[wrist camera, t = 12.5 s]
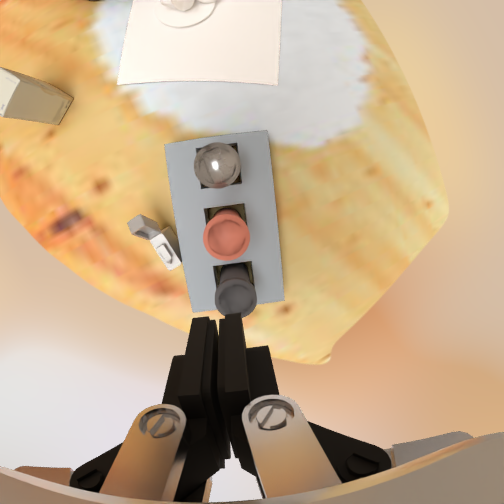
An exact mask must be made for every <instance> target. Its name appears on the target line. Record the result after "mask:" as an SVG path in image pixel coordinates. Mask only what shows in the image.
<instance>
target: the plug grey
mask: <svg viewBox="0 0 504 504" xmlns="http://www.w3.org/2000/svg"><path fill="white" fill-rule="evenodd" d="M240 169H241V161H240V158H239V155H238V153H237V152H236V151H235V149H234V148H232V147H231V146H230V145H228V144H225V143H221V142H215V143H210V144H208V145H206V146H204V147H203V148H202V149H201V150H200V151H199V152H198V153H197V155H196V157H195V160H194V172H195V175H196V177H197V178H198V180H199V181H200V182H201V183H202V184H204V185H205V186H207V187H210V188H214V189H219V188H224V187H227V186H229V185H230V184H232V183H233V182H234V181H235V180H236V178H237V177H238V175H239V173H240Z"/></svg>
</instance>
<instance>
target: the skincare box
mask: <svg viewBox="0 0 504 504" xmlns="http://www.w3.org/2000/svg"><path fill="white" fill-rule="evenodd" d="M72 100H73V98H72V97H71V96H69V95H68V94H66V93H65V92H63V91H61V90H60V89H58V88H56V87H54V86H53V85H51V84H49V83H46V82H44V81H41V80H38V79H35V78H33V77H30V76H27V75H24V74H21V73H18V72H15V71H12V70H8V69H5V68H2V67H0V116H1V117H6V118H14V119H21V120H28V121H35V122H42V123H48V124H54V125H59V123H60V121H61V119H62V118H63V116H64V114H65V112H66V111H67V109H68V107H69V105H70V104H71V102H72Z"/></svg>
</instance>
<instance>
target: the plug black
mask: <svg viewBox="0 0 504 504" xmlns="http://www.w3.org/2000/svg"><path fill="white" fill-rule="evenodd" d="M256 304H257V295H256V291H255V288H254V287H253V285H252V284H251V283H250V279H249V274H248V269H247V267H246V265H245V264H244V263H243V262H240V263H232V264H224V265H223V266H222V268H221V271H220V284H219V286H218V287H217V289H216V292H215V305H216V308H217V309H218V311H219V312H220V313H221V314H222V315H224V316H225V314H232V313H240V312H241V316H242V318H243V317H246V316H247V315H249V314H250V313H251V312H252V311H253V310H254V309H255V307H256Z"/></svg>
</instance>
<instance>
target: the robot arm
mask: <svg viewBox="0 0 504 504" xmlns="http://www.w3.org/2000/svg"><path fill="white" fill-rule="evenodd" d="M230 442H231V445H232V448H233V452H234V455H235V458H239V461H240V464H241V468H242V469H244V470H246V471H247V472H249V473H251V474H252V475H254V476H256V480H257V483H258V487H259V490H260V492H261V495H262V499H257V500H247V501H234V502H211V503H210V502H209V497H210V492H211V487H212V477H211V476H212V475H213V474H215V473H216V472H217V471H219V469H221V468H225V459H230V458H231V452H230ZM0 504H504V432H499V433H494V434H488V435H484V436H480V437H475V438H473V437H472V436H471V435H469V434H468V433H465V432H460V431H458V432H451V433H447V434H443V435H439V436H435V437H430V438H426V439H422V440H417V441H412V442H406V443H401V444H395V445H392V448H390V449H384V450H383V449H381V448H379V447H377V446H375V445H372V444H369V443H366V442H362V441H360V440H357V439H354V438H351V437H348V436H345V435H342V434H340V433H337V432H334V431H332V430H329V429H326V428H324V427H321V426H319V425H316V424H314V423H311V422H308V421H307V420H306V418H305V416H304V414H303V413H302V411H301V409H300V407H299V406H298V404H297V403H296V402H295V401H294V400H292V399H290V398H288V397H285V396H282V395H279V391H278V386H277V382H276V378H275V373H274V369H273V365H272V360H271V355H270V351H269V347H268V345H267V346H260V347H253V348H246V342H245V336H244V329H243V323H242V316H241V312H240V313H232V314H225V319H220V320H219V335H218V330H217V325H216V321H215V320H210V319H209V316H208V317H199V318H193V319H192V323H191V328H190V333H189V338H188V342H187V347H186V352H185V355H178V356H174V357H173V359H172V363H171V368H170V371H169V375H168V380H167V384H166V388H165V392H164V396H163V401H162V404H158V405H154V406H151V407H149V408H146V409H145V410H143V411H142V412H141V413H139V414H138V416H137V417H136V419H135V420H134V422H133V424H132V426H131V428H130V430H129V432H128V434H127V436H126V439H125V440H124V442H123V443H121V444H119V445H118V446H116V447H114V448H112V449H111V450H109V451H107V452H105V453H103V454H102V455H100V456H98V457H96V458H95V459H93V460H91V461H89V462H87V463H85V464H83V465H82V466H80V467H79V468H77V469H76V470H75V471H73V470H72V469H71V468H49V467H31V466H22V467H18V468H16V469H15V470H12V469H8V468H4V467H0Z"/></svg>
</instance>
